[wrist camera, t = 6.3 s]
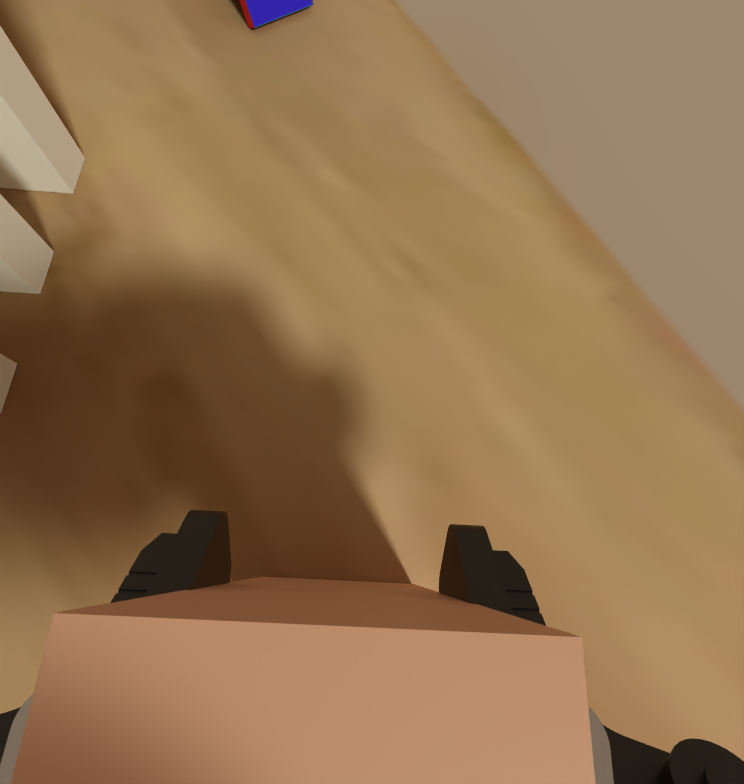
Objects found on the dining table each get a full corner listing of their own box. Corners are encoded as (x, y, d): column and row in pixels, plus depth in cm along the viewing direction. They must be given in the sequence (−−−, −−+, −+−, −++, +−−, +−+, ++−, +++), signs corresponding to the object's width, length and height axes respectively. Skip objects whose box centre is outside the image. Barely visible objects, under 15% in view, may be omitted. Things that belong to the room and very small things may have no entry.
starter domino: (254, 643, 15) (-19, 894, 4) (262, 576, 16) (54, 612, 4) (410, 650, 15) (607, 907, 4) (411, 583, 16) (581, 636, 5)
